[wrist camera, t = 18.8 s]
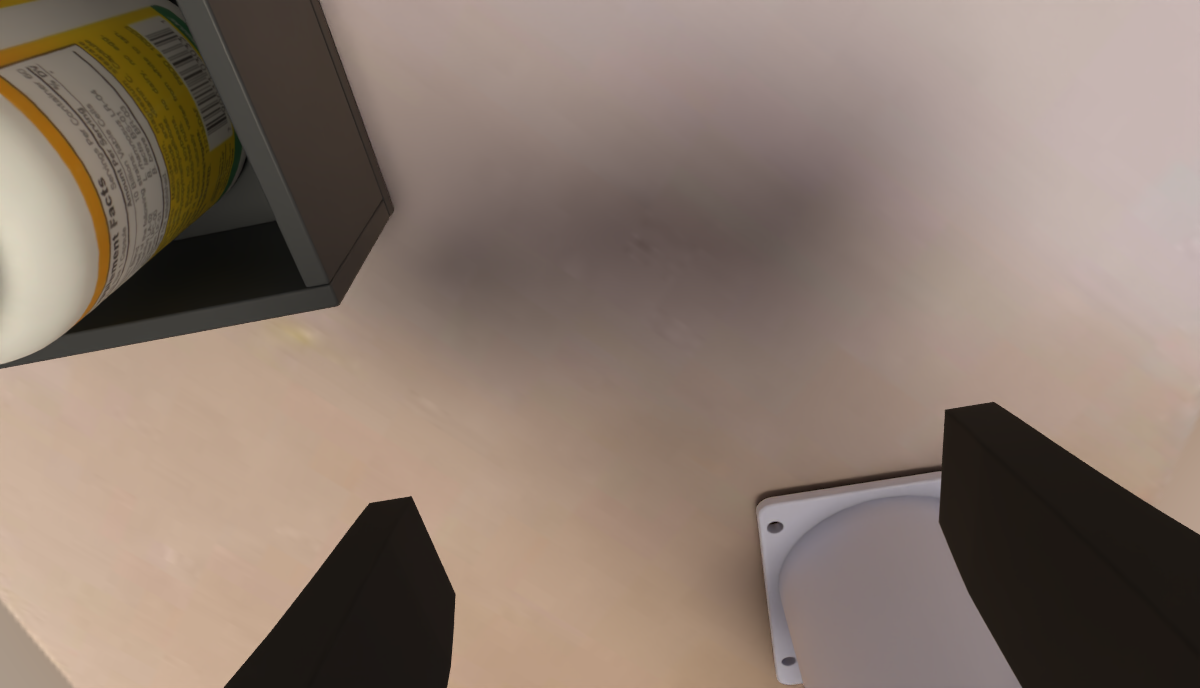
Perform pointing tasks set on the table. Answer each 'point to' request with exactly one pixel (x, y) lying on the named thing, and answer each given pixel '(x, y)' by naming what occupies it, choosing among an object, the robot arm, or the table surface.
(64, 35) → the supplement bottle
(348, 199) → the open black bin
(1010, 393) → the table surface
